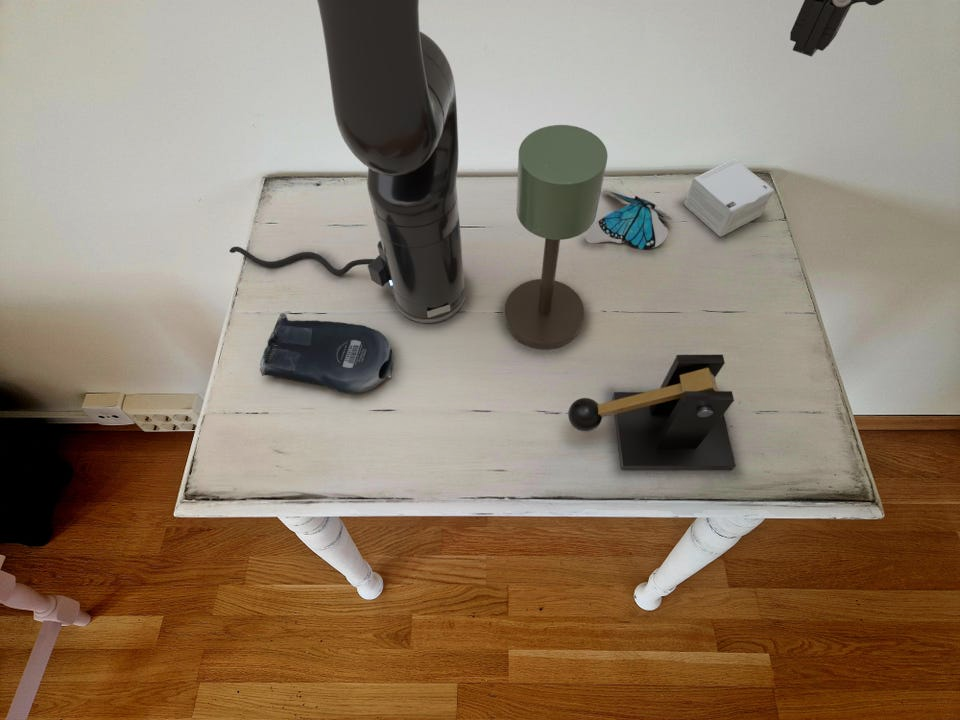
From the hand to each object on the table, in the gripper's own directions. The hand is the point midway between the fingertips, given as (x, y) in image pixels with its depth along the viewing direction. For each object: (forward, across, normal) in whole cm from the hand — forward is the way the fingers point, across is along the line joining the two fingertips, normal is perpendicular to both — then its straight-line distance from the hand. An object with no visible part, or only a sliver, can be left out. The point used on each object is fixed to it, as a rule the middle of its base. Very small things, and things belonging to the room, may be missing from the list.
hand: (806, 48), depth 43 cm
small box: (+35, -4, +20) cm, 41 cm away
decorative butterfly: (+35, -13, +10) cm, 39 cm away
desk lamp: (+35, -14, -10) cm, 39 cm away
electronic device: (+35, -31, -31) cm, 56 cm away
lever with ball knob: (+29, +3, -17) cm, 34 cm away
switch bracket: (+35, +6, -15) cm, 39 cm away
